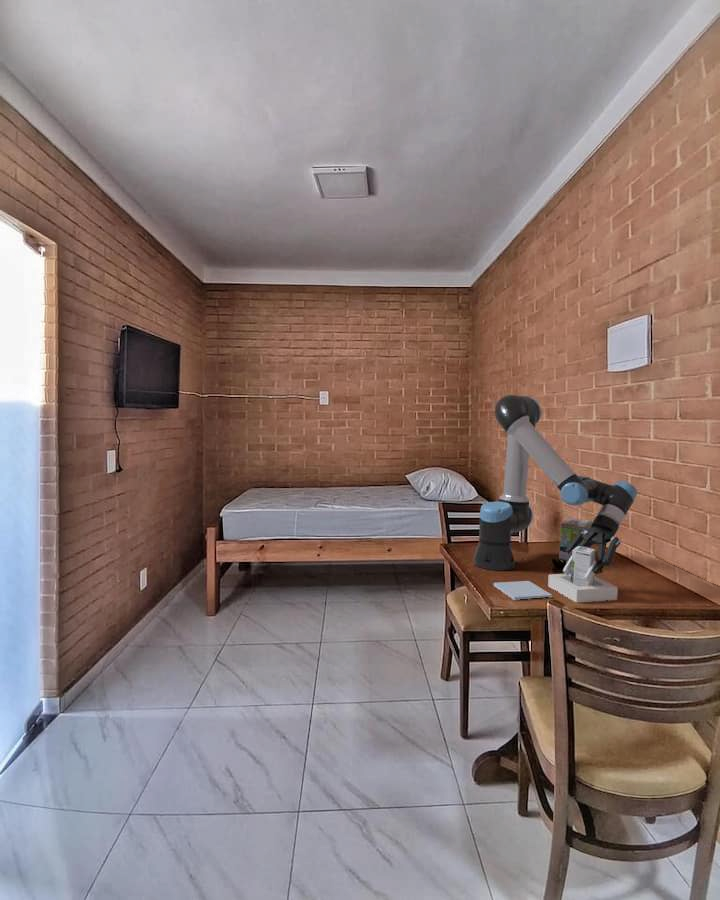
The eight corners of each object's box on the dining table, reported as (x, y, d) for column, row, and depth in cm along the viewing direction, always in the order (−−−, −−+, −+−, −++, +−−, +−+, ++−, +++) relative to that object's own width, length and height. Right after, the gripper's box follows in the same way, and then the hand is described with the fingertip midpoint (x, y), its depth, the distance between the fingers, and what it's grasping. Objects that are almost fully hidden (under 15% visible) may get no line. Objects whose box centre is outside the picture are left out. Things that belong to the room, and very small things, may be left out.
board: (493, 585, 161) (493, 582, 161) (528, 583, 164) (528, 580, 164) (514, 600, 149) (514, 597, 149) (551, 597, 152) (551, 594, 151)
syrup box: (574, 588, 161) (576, 545, 160) (593, 592, 157) (595, 548, 156) (569, 592, 156) (571, 548, 155) (588, 597, 153) (591, 552, 152)
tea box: (585, 563, 189) (587, 526, 188) (558, 559, 195) (560, 523, 194) (590, 555, 202) (592, 520, 201) (564, 550, 207) (566, 516, 206)
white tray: (548, 586, 162) (548, 574, 162) (585, 584, 165) (586, 572, 165) (576, 602, 148) (577, 589, 148) (617, 599, 151) (617, 587, 151)
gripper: (641, 534, 155) (610, 593, 148) (584, 522, 172) (553, 574, 164) (633, 519, 152) (601, 578, 145) (576, 509, 169) (544, 561, 161)
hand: (576, 576), depth 154 cm, fingers closed on syrup box, 7 cm apart
